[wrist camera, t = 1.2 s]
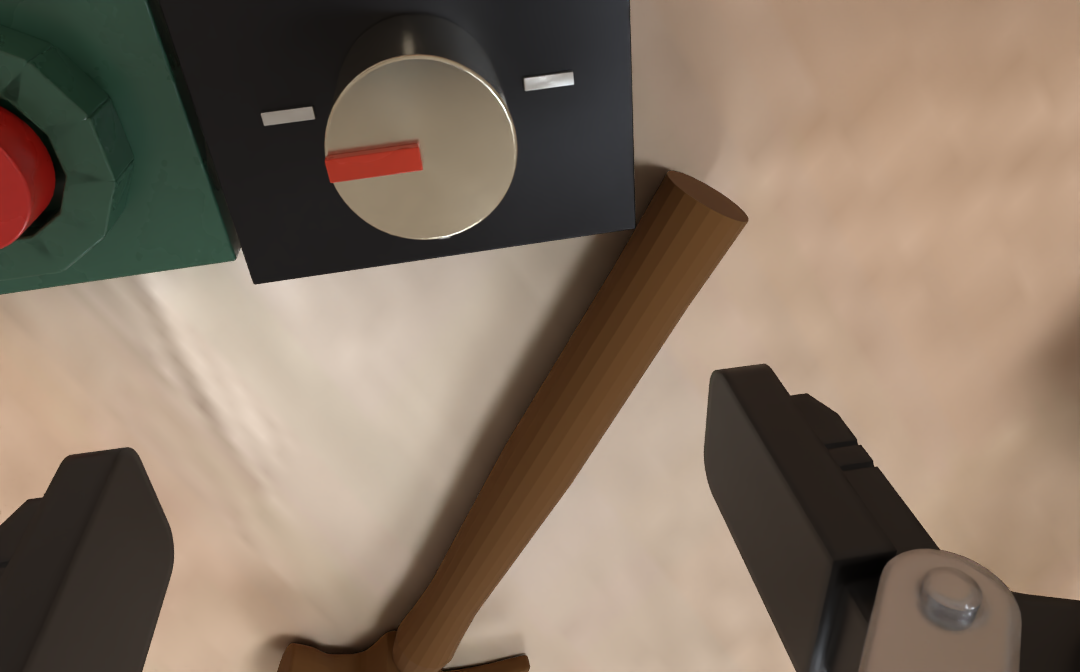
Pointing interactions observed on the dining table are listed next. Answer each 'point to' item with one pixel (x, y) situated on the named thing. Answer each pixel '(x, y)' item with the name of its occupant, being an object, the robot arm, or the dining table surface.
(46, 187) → the button
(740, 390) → the robot arm
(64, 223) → the switchbox
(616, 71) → the panel
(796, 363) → the dining table surface
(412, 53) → the dial
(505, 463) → the hammer
